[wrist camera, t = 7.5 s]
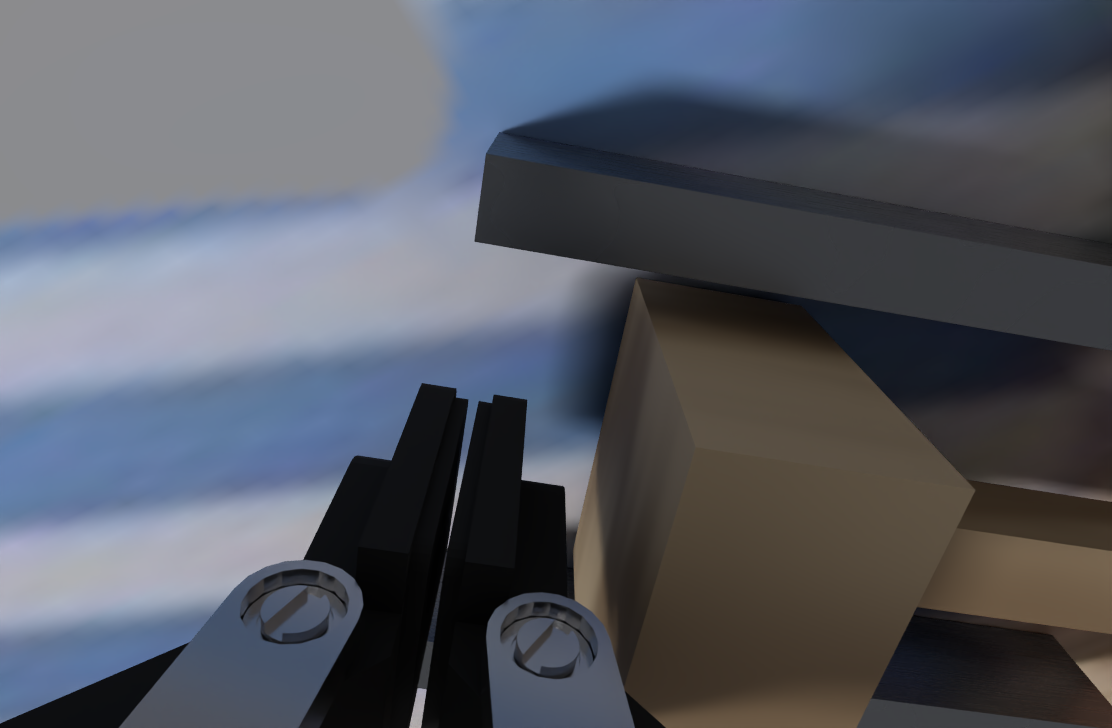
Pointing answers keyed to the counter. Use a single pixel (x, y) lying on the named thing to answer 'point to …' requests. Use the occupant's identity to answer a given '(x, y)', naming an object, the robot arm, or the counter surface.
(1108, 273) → the dark grey rails
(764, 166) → the counter surface
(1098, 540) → the tan pedestal
